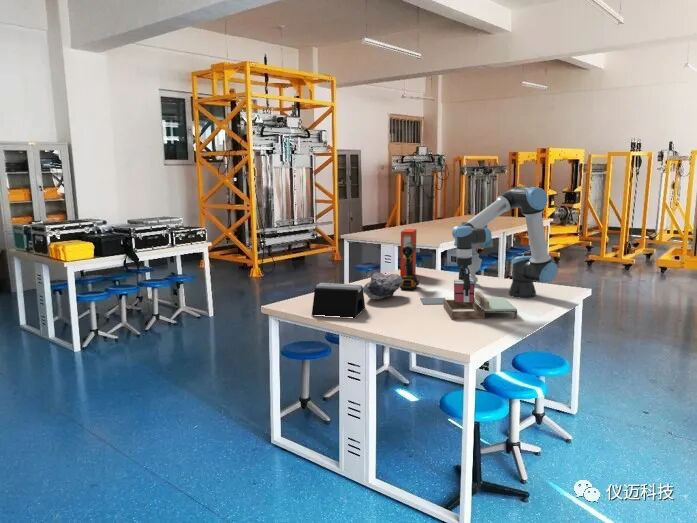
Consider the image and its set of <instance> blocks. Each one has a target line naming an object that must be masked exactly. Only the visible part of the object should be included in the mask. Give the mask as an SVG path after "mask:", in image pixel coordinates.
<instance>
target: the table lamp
mask: <svg viewBox="0 0 697 523" xmlns="http://www.w3.org/2000/svg"><path fill="white" fill-rule="evenodd" d="M466 222H467V221H463V222H461V223H460V226H462V225H464V224H465V223H466ZM483 228H488V224H487V225H486V226H484V227H483ZM453 245H454V247H456V248H457V239H455V238H454V243H453ZM493 247H494V240H493V238H492V237H491V240H490V241H489V242H486V243H479V244H472V256H471V257H472V264H471V265H468V269H469V270H470V272H469V274H470V280H474V288H479V287H481V284H479V283H478V280H479V278H478V277H477V275H476V273H477V272H478V271H479V270H480V269H481V266H482V261H483V259H482V258H480V257H479V256H480V253H478V252H477V249H489V248H493Z"/></svg>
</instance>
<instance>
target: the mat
mask: <svg viewBox="0 0 697 523" xmlns="http://www.w3.org/2000/svg"><path fill="white" fill-rule="evenodd" d="M444 300H447V299H446V297H420V302H421V304H422V305H423V306H425V305H426V306H430V305H431V306H432V305H433V306H434V305H435V306H436V305H437V306H438V305H440V306H441V305H443V303H444Z"/></svg>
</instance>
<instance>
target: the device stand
mask: <svg viewBox="0 0 697 523" xmlns="http://www.w3.org/2000/svg"><path fill="white" fill-rule="evenodd" d="M315 286H316V287H315V288H314V292H313V302H312V308H311V309H312V311H311V316H312V315H325V316H340V317H353V318H355V317H356V316H357V315H358V314H359V313H360V312H361V311H362V310H363V309H364V308H365V309H366V304H365V296H364V294H365V293H364V291H363V287H364V285H362V284H353V283H352V284H351V283H329V282H328V283H326V282H319V283H318V284H316V285H315ZM365 309H364V310H365ZM364 310H363V311H364ZM363 311H362V312H363ZM362 312H361V313H362ZM361 313H360V314H361ZM360 314H359V315H360ZM359 315H358V316H359ZM358 316H357V317H358ZM357 317H356V318H357ZM356 318H355V319H356Z"/></svg>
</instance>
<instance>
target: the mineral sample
mask: <svg viewBox="0 0 697 523" xmlns="http://www.w3.org/2000/svg"><path fill="white" fill-rule="evenodd" d="M401 283H402V278H401V276H400V274H396V273H390V274H389V273H387V274H384V273H382V272H381V273H380V272H373V274H372V275H371V277H370V281H369V282H366V283H365V285H363V294H365V295H366V296H367V297H368V298H369V299H372V300H381V299H382V298H388V297H392V296H394V294H395V292H397V290H399V289H400V286H401Z"/></svg>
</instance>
